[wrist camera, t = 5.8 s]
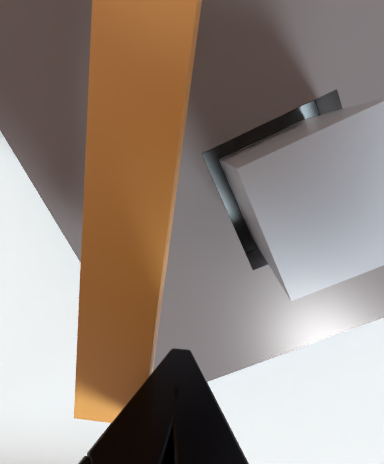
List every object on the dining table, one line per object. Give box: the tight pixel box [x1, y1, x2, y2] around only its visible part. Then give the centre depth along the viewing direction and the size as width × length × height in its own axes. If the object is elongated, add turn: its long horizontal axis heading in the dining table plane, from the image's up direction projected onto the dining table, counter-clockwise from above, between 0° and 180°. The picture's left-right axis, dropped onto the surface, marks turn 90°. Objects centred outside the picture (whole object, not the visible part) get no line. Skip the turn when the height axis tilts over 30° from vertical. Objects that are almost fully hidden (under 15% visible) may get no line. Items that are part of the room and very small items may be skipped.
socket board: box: [0, 0, 384, 382], centre depth 11 cm, size 22×18×2 cm
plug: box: [219, 98, 384, 301], centre depth 10 cm, size 4×4×6 cm
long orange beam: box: [74, 0, 202, 423], centre depth 8 cm, size 3×14×6 cm, turn 172°
